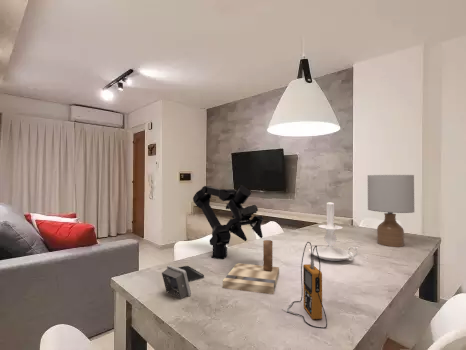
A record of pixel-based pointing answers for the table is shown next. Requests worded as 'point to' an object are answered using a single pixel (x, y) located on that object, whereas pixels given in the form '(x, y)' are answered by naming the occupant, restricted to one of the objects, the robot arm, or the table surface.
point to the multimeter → (311, 290)
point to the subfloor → (251, 278)
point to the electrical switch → (176, 282)
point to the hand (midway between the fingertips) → (254, 239)
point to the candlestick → (332, 240)
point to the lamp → (391, 204)
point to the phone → (192, 273)
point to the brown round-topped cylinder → (267, 255)
